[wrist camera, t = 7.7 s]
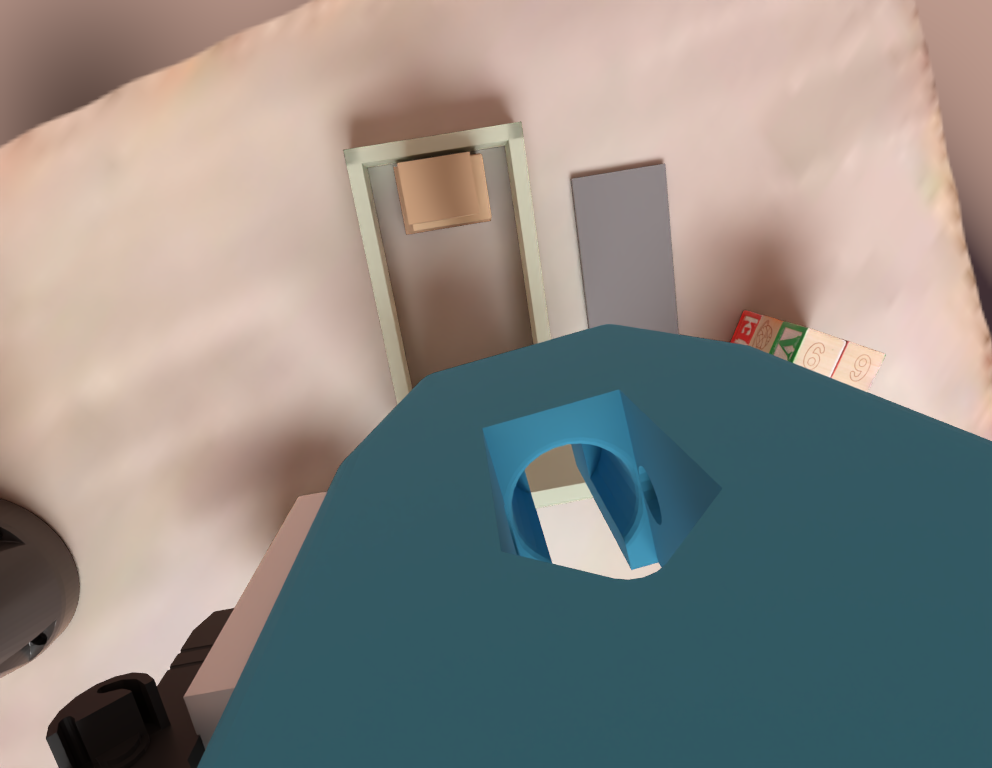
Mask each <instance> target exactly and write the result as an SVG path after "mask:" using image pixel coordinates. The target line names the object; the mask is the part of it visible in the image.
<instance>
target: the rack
mask: <svg viewBox="0 0 992 768" xmlns="http://www.w3.org/2000/svg"><path fill="white" fill-rule="evenodd" d="M500 146H505V152H506V158H507V165H508V172H509V179H510V186H511V193H512V200H513V207H514V214H515V221H516V228H517V234H518V241H519V248H520V255H521V262H522V269H523V276H524V283H525V290H526V297H527V303H528V310H529V317H530V324H531V331H532V338H533V345H534V344H537V343H541V342H544V341H548V340H551V336H550V328H549V321H548V314H547V306H546V299H545V292H544V284H543V277H542V270H541V262H540V255H539V248H538V240H537V233H536V226H535V218H534V211H533V204H532V196H531V189H530V182H529V174H528V167H527V160H526V152H525V145H524V138H523V130H522V123H521V122H515V123H509V124H503V125H496V126H490V127H484V128H477V129H471V130H465V131H459V132H452V133H446V134H440V135H433V136H427V137H421V138H414V139H408V140H402V141H396V142H389V143H383V144H377V145H370V146H364V147H358V148H351V149H345V150H343V151H344V156H345V161H346V165H347V170H348V175H349V180H350V184H351V189H352V194H353V198H354V203H355V208H356V213H357V217H358V222H359V227H360V231H361V236H362V241H363V246H364V250H365V255H366V260H367V264H368V269H369V274H370V279H371V283H372V288H373V293H374V297H375V302H376V307H377V311H378V316H379V321H380V326H381V330H382V335H383V340H384V344H385V349H386V354H387V359H388V363H389V368H390V373H391V377H392V382H393V387H394V392H395V396H396V401H397V405H398V404H399V403H400V402H401V401H402V400H403V399H404V398H405V396H406V395H407V394H408V393H409V392H410V391H411V390H412V385H411V380H410V375H409V370H408V365H407V360H406V355H405V351H404V346H403V341H402V336H401V331H400V326H399V321H398V316H397V311H396V306H395V301H394V297H393V292H392V287H391V282H390V277H389V272H388V267H387V262H386V257H385V252H384V248H383V243H382V238H381V233H380V228H379V223H378V218H377V213H376V208H375V203H374V198H373V194H372V189H371V184H370V179H369V174H368V169H367V168H369V167H375V166H382V165H388V164H394V163H400V162H407V161H413V160H419V159H425V158H432V157H438V156H444V155H450V154H457V153H463V152H469V151H475V150H482V149H488V148H494V147H500ZM525 473H526V477H527V480H528V484H529V488H530V491H531V495H532V498H533V501H534V505H535V508H542V507H547V506H553V505H558V504H564V503H569V502H574V501H580V500H585V499H591V498H593V496H592V494H591V492H590V490H589V488H588V486H587V484H586V483H585V481H584V479H583V477H582V475H581V473H580V471H579V469H578V467H577V465H576V462H575V458H574V454H573V450H572V446H571V444H567V445H564V446H560V447H557V448H553V449H551V450H549V451H547V452H545V453H543V454H541V455H540V456H539V457H538V458H536V459H535V460H534V461H532V462H531V463H530V464H529V465H528V466H527V468H526V469H525Z"/></svg>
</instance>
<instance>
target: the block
mask: <svg viewBox="0 0 992 768" xmlns="http://www.w3.org/2000/svg"><path fill="white" fill-rule="evenodd" d="M567 444H571V446H572V450H573V454H574V458H575V462H576V465H577V467H578V469H579V471H580V473H581V475H582V477H583V479H584V481H585V483H586V484H587V486H588V488H589V490H590V492H591V494H592V496H593V498H594V500H595V502H596V503H597V505H598V507H599V509H600V511H601V513H602V515H603V517H604V519H605V520H606V522H607V524H608V526H609V528H610V530H611V532H612V534H613V536H614V538H615V539H616V541H617V543H618V545H619V547H620V549H621V551H622V553H623V555H624V557H625V558H626V560H627V562H628V564H629V566H630V568H631V570H633V569H636V568H640V567H643V566H647V565H650V564H654V563H657V562H659V564H660V565H661V567H662V568H661V569H660V570H658V571H657V572H655V573H653V574H651V575H648V576H646V577H643V578H637V579H631V580H624V579H614V578H610V577H605V576H601V575H597V574H593V573H589V572H585V571H581V570H576V569H572V568H568V567H564V566H560V565H556V564H552V561H551V558H550V555H549V551H548V548H547V545H546V541H545V538H544V535H543V531H542V528H541V525H540V521H539V518H538V515H537V511H536V508H535V505H534V501H533V498H532V495H531V491H530V488H529V484H528V480H527V477H526V473H525V469H526V468H527V466H528V465H529V464H530V463H531V462H532V461H534V460H535V459H536V458H538V457H539V456H540V455H541V454H543V453H545V452H547V451H549V450H551V449H553V448H557V447H560V446H564V445H567ZM197 768H992V441H990V440H987V439H985V438H982V437H980V436H977V435H975V434H972V433H969V432H967V431H964V430H962V429H959V428H957V427H954V426H952V425H949V424H947V423H944V422H942V421H939V420H936V419H934V418H931V417H929V416H926V415H924V414H921V413H919V412H916V411H914V410H911V409H909V408H906V407H903V406H901V405H898V404H896V403H893V402H891V401H888V400H886V399H883V398H881V397H878V396H876V395H873V394H871V393H868V392H865V391H863V390H860V389H858V388H855V387H853V386H850V385H848V384H845V383H843V382H840V381H838V380H835V379H832V378H830V377H827V376H825V375H822V374H820V373H817V372H815V371H812V370H810V369H807V368H805V367H802V366H799V365H797V364H794V363H792V362H789V361H787V360H784V359H782V358H779V357H777V356H774V355H772V354H769V353H766V352H764V351H761V350H759V349H756V348H754V347H751V346H749V345H742V344H736V343H730V342H723V341H717V340H711V339H704V338H698V337H692V336H685V335H679V334H673V333H666V332H660V331H654V330H647V329H641V328H635V327H629V326H622V325H615V324H605V325H600V326H597V327H593V328H590V329H586V330H583V331H579V332H576V333H572V334H569V335H565V336H562V337H558V338H555V339H551V340H548V341H544V342H541V343H537V344H534V345H530V346H527V347H523V348H520V349H516V350H513V351H509V352H506V353H502V354H499V355H495V356H491V357H488V358H484V359H481V360H477V361H474V362H470V363H467V364H463V365H460V366H456V367H453V368H449V369H446V370H442V371H439V372H435V373H432V374H430V375H428V376H426V377H425V378H423V379H422V380H421V381H420V382H419V383H418V384H417V385H416V386H415V387H414V388H413V389H412V390H411V391H410V392H409V393H408V394H407V395H406V396H405V398H404V399H403V400H402V401H401V402H400V403H399V404H398V405H397V406H396V407H395V408H394V409H393V410H392V411H391V412H390V413H389V414H388V415H387V416H386V417H385V418H384V419H383V420H382V421H381V423H380V424H379V425H378V426H377V427H376V428H375V429H374V430H373V431H372V432H371V433H370V434H369V435H368V436H367V437H366V438H365V439H364V440H363V441H362V442H361V443H360V444H359V445H358V446H357V448H356V449H355V450H354V451H353V452H352V453H351V454H350V455H349V456H348V457H347V458H346V459H345V460H344V461H343V463H342V464H341V465H340V467H339V468H338V470H337V472H336V474H335V476H334V478H333V481H332V483H331V485H330V487H329V489H328V491H327V493H326V495H325V497H324V500H323V502H322V504H321V506H320V508H319V510H318V512H317V514H316V517H315V519H314V521H313V523H312V525H311V527H310V529H309V531H308V534H307V536H306V538H305V540H304V542H303V544H302V546H301V548H300V550H299V553H298V555H297V557H296V559H295V561H294V563H293V565H292V567H291V570H290V572H289V574H288V576H287V578H286V580H285V582H284V584H283V586H282V589H281V591H280V593H279V595H278V597H277V599H276V601H275V603H274V606H273V608H272V610H271V612H270V614H269V616H268V618H267V620H266V622H265V625H264V627H263V629H262V631H261V633H260V635H259V637H258V639H257V642H256V644H255V646H254V648H253V650H252V652H251V654H250V656H249V658H248V661H247V663H246V665H245V667H244V669H243V671H242V673H241V675H240V678H239V680H238V682H237V684H236V686H235V688H234V690H233V692H232V694H231V697H230V699H229V701H228V703H227V705H226V707H225V709H224V711H223V714H222V716H221V718H220V720H219V722H218V724H217V726H216V728H215V730H214V733H213V735H212V737H211V739H210V741H209V743H208V745H207V747H206V750H205V752H204V754H203V756H202V758H201V760H200V762H199V764H198V767H197Z"/></svg>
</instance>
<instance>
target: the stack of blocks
mask: <svg viewBox="0 0 992 768" xmlns="http://www.w3.org/2000/svg"><path fill="white" fill-rule="evenodd" d="M730 343H736V344H742V345H749V346H751V347H754V348H756V349H759V350H761V351H764V352H766V353H769V354H772V355H774V356H777V357H779V358H782V359H784V360H787V361H789V362H792V363H794V364H797V365H799V366H802V367H805V368H807V369H810V370H812V371H815V372H817V373H820V374H822V375H825V376H827V377H830V378H832V379H835V380H838V381H840V382H843V383H845V384H848V385H850V386H853V387H855V388H858V389H860V390H863V391H865V392H868V390H869V388H870V387H871V385H872V383H873V380H874V378H875V376H876V374H877V373H878V371H879V368H880V366H881V364H882V362H883V360H884V358H885V356H886V354H884V353H881V352H879V351H876V350H873V349H870V348H867V347H864V346H861V345H858V344H856V343H853V342H850V341H847V340H843V339H840V338H837V337H834V336H831V335H828V334H825V333H822V332H820V331H817V330H814V329H811V328H808V327H805V326H801V325H797V324H794V323H790V322H786V321H781V320H778V319H775V318H772V317H769V316H766V315H760V314H757V313H754V312H751V311H747V310H744V311H743V313H742V316H741V318H740V321H739V323H738V325H737V328H736V330H735V332H734V335H733V337H732V340H731V342H730Z"/></svg>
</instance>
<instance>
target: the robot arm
mask: <svg viewBox="0 0 992 768" xmlns="http://www.w3.org/2000/svg"><path fill="white" fill-rule="evenodd" d="M326 493H327V492H321V493H315V494H309V495H304V496H298V498H297V500H296V502H295V503H294V505H293V507H292V508H291V510H290V512H289V514H288V515H287V517H286V519H285V521H284V522H283V524H282V526H281V528H280V529H279V531H278V533H277V535H276V536H275V538H274V540H273V542H272V543H271V545H270V547H269V549H268V550H267V552H266V554H265V556H264V557H263V559H262V561H261V563H260V564H259V566H258V568H257V570H256V571H255V573H254V575H253V577H252V578H251V580H250V582H249V584H248V585H247V587H246V589H245V590H244V592H243V594H242V596H241V597H240V599H239V601H238V603H237V604H236V606H235V608H232V609H227V610H221V611H215V612H213V613H212V614H211V615H210V616H209V617H208V618H207V619H206V620H204V621H203V622H202V623H201V624H200V625H199V626H198V627H196V628H195V629H194V630H193V631H192V633H191V635H190V636H189V638H188V639H187V641H186V642H185V644H184V645H183V647H182V649H181V653H180V654H178V655H177V656H176V658H175V659H174V661H173V663H172V664H171V666H170V670H167V672H166V673H165V675H164V677H163V678H162V680H161V681H160V683H159V684H158V686H156V683H155V681H154V679H153V678H152V677H150V676H149V675H148V674H145V673H129V674H124V675H120V676H115V677H113V678H111V679H108V680H106V681H104V682H101V683H99V684H96V685H95V686H93V687H91V688H90V689H88V690H86V691H85V692H83V693H82V694H80V695H78V696H77V697H75V698H74V699H73V700H72V701H71V702H70V703H68V704H67V705H66V706H65V707H64V708H63V709H61V710H60V711H59V712H58V714H57V715H56V717H55V718H54V719H53V721H52V722H51V723H50V725H49V727H48V731H47V736H46V740H47V742H48V744H49V746H50V749H51V751H52V753H53V755H54V758H55V760H56V762H57V764H58V767H59V768H197V767H198V764H199V762H200V760H201V758H202V756H203V754H204V752H205V750H206V747H207V745H208V743H209V741H210V739H211V737H212V735H213V733H214V730H215V728H216V726H217V724H218V722H219V720H220V718H221V716H222V714H223V711H224V709H225V707H226V705H227V703H228V701H229V699H230V697H231V694H232V692H233V690H234V688H235V686H236V684H237V682H238V680H239V678H240V675H241V673H242V671H243V669H244V667H245V665H246V663H247V661H248V658H249V656H250V654H251V652H252V650H253V648H254V646H255V644H256V642H257V639H258V637H259V635H260V633H261V631H262V629H263V627H264V625H265V622H266V620H267V618H268V616H269V614H270V612H271V610H272V608H273V606H274V603H275V601H276V599H277V597H278V595H279V593H280V591H281V589H282V586H283V584H284V582H285V580H286V578H287V576H288V574H289V572H290V570H291V567H292V565H293V563H294V561H295V559H296V557H297V555H298V553H299V550H300V548H301V546H302V544H303V542H304V540H305V538H306V536H307V534H308V531H309V529H310V527H311V525H312V523H313V521H314V519H315V517H316V514H317V512H318V510H319V508H320V506H321V504H322V502H323V500H324V497H325V495H326ZM78 600H79V578H78V573H77V569H76V566H75V563H74V560H73V558H72V556H71V554H70V552H69V550H68V549H67V547H66V546H65V544H64V543H63V541H62V540H61V539H60V537H59V536H58V535H57V534H56V533H55V532H54V531H53V530H52V529H51V528H50V527H49V526H48V525H47V524H46V523H45V522H43V521H42V520H41V519H40V518H38V517H37V516H35V515H34V514H32V513H31V512H29V511H27V510H26V509H24V508H22V507H20V506H18V505H16V504H13V503H11V502H8V501H6V500H3V499H0V678H1V677H3V676H5V675H7V674H9V673H11V672H13V671H15V670H16V669H18V668H20V667H22V666H24V665H26V664H27V663H29V662H31V661H32V660H33V659H35V658H36V657H37V656H39V655H40V654H41V653H42V652H44V651H45V650H46V649H47V648H48V647H49V646H50V645H51V644H52V642H53V641H54V640H55V639H56V638H57V637H58V636H59V635H60V634H61V633H62V632H63V631H64V630H65V628H66V627H67V626H68V624H69V623H70V621H71V619H72V618H73V616H74V613H75V611H76V608H77V604H78Z"/></svg>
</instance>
